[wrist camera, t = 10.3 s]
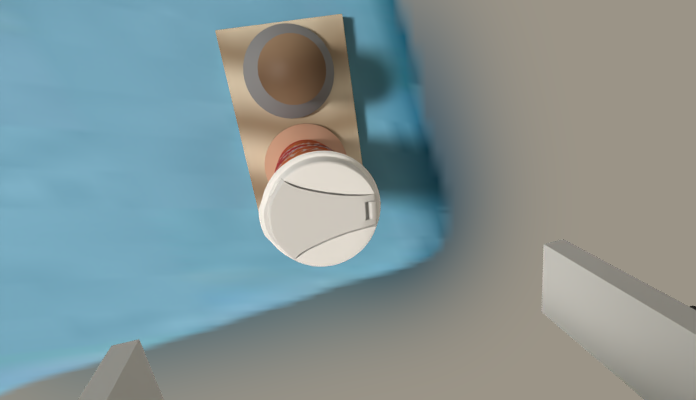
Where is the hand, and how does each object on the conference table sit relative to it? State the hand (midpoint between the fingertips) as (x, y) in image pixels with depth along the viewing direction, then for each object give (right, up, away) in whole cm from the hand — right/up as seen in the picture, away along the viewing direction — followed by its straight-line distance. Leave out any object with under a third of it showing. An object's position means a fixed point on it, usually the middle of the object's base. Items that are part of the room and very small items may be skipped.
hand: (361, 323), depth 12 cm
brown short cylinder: (-6, +15, +21) cm, 26 cm away
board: (-5, +12, +24) cm, 27 cm away
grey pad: (-6, +15, +21) cm, 27 cm away
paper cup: (-5, +7, +24) cm, 25 cm away
